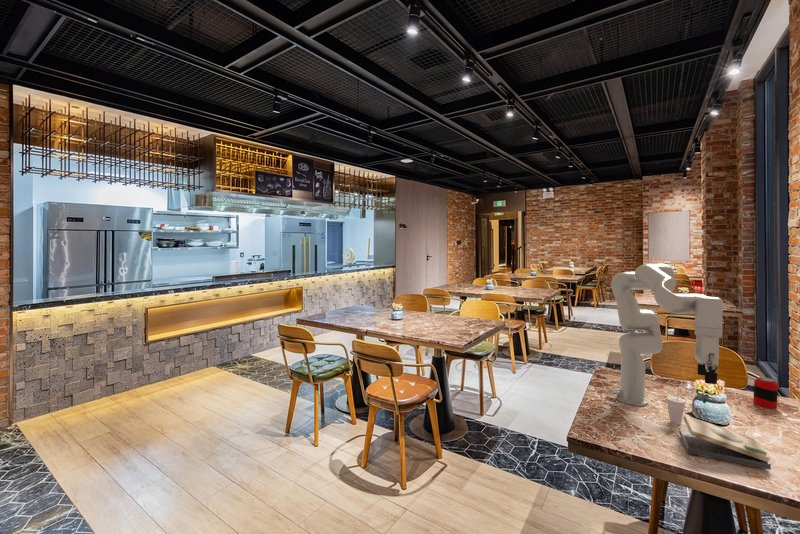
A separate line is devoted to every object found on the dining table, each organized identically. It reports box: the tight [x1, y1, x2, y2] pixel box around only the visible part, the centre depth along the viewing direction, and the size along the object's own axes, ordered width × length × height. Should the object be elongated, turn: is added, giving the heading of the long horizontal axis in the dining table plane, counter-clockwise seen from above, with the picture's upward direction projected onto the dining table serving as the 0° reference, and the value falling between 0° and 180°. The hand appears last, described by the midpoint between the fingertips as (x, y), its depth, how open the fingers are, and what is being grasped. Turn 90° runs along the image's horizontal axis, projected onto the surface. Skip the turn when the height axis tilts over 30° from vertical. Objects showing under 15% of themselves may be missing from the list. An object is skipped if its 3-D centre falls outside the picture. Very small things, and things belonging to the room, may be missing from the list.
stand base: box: [678, 428, 772, 471], centre depth 128 cm, size 21×15×3 cm
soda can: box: [752, 376, 779, 410], centre depth 166 cm, size 8×8×12 cm
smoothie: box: [665, 388, 687, 426], centre depth 150 cm, size 6×6×14 cm
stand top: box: [682, 414, 770, 462], centre depth 128 cm, size 20×14×2 cm
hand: (706, 379), depth 132 cm, fingers open, 9 cm apart
